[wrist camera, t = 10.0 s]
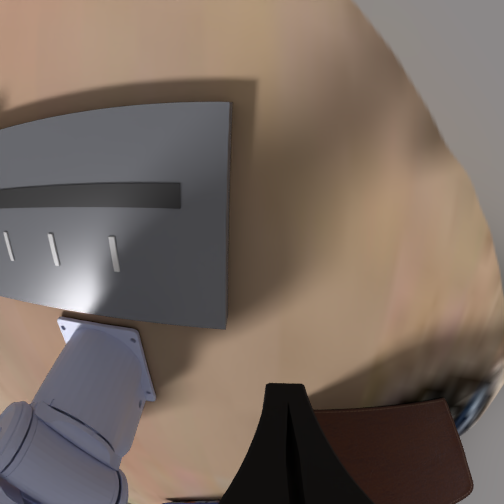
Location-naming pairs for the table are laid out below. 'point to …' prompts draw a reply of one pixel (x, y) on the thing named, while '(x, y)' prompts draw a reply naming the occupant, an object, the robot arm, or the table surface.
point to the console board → (120, 212)
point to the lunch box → (195, 502)
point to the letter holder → (401, 452)
